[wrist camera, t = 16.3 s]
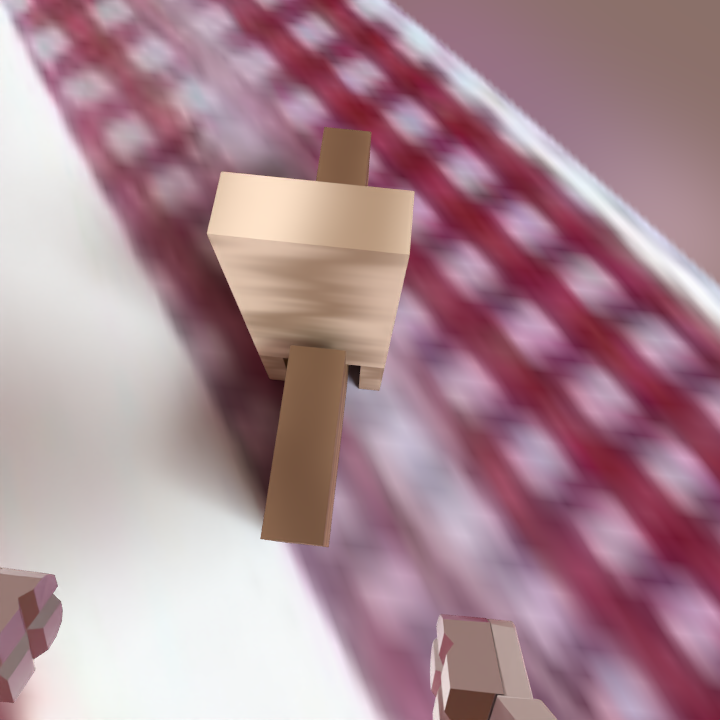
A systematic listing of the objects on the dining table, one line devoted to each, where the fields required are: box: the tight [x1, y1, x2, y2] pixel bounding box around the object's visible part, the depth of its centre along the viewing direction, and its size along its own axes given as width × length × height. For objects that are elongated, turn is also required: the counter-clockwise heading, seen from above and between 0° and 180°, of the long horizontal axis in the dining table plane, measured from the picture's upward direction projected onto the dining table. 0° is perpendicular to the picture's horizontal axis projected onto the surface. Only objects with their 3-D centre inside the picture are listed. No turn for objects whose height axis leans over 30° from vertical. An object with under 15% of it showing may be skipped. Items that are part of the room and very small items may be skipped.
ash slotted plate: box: [207, 172, 414, 391], centre depth 24 cm, size 6×2×15 cm, turn 84°
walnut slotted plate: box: [261, 127, 371, 547], centre depth 27 cm, size 2×20×8 cm, turn 174°
